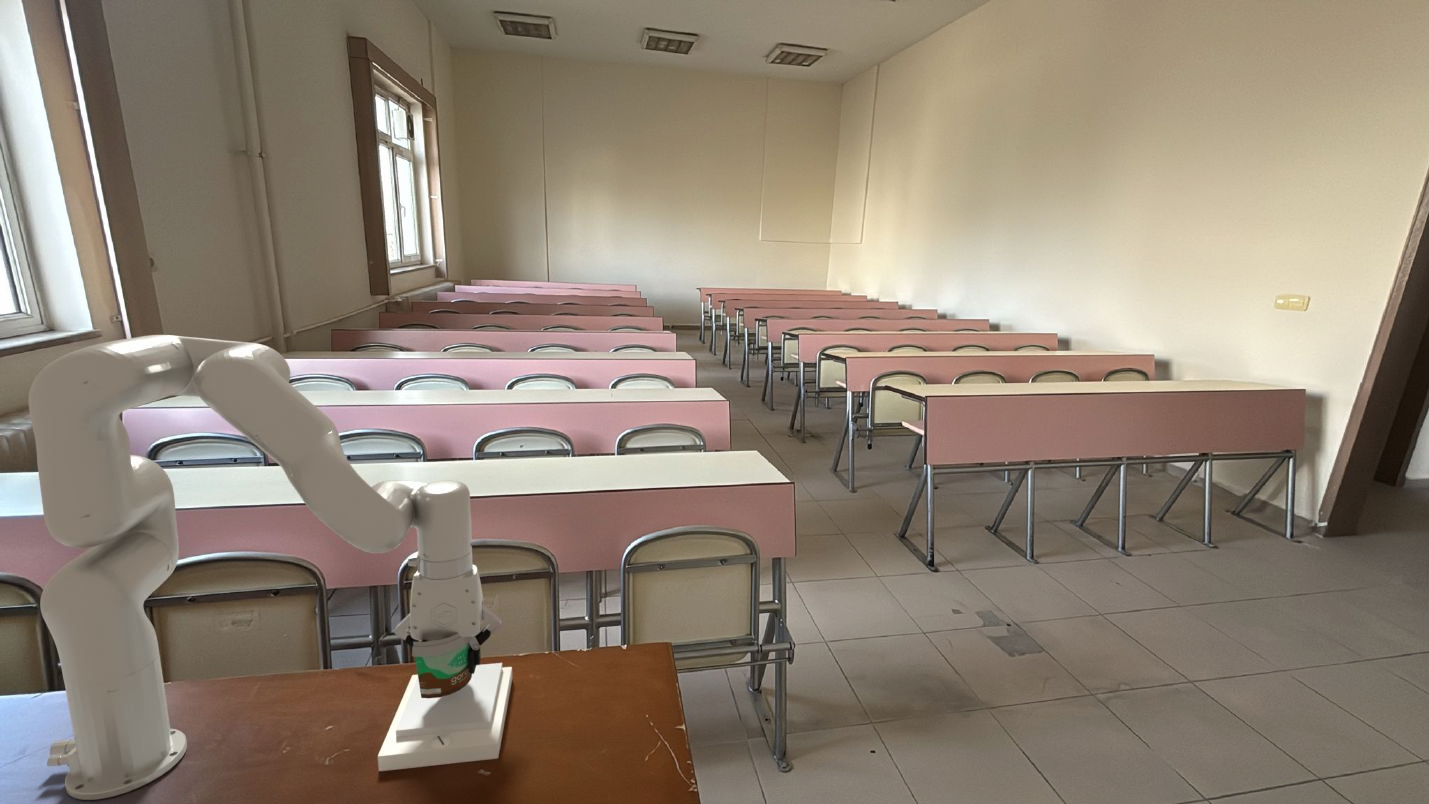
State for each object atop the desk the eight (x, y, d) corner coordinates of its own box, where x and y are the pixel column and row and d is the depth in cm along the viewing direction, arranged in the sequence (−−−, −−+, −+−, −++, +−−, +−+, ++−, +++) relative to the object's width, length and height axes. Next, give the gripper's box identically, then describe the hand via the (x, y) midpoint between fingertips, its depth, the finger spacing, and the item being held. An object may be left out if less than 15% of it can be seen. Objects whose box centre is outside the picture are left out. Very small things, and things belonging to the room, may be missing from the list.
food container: (453, 710, 96) (449, 649, 94) (415, 704, 97) (410, 643, 95) (494, 661, 108) (492, 606, 105) (460, 656, 109) (457, 601, 106)
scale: (378, 771, 91) (377, 748, 90) (413, 688, 109) (412, 668, 108) (498, 758, 94) (497, 736, 93) (512, 679, 112) (511, 660, 112)
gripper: (376, 577, 93) (384, 690, 96) (502, 570, 96) (505, 680, 100) (391, 555, 100) (398, 661, 103) (508, 550, 103) (510, 652, 107)
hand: (450, 669), depth 101 cm, fingers closed on food container, 6 cm apart
